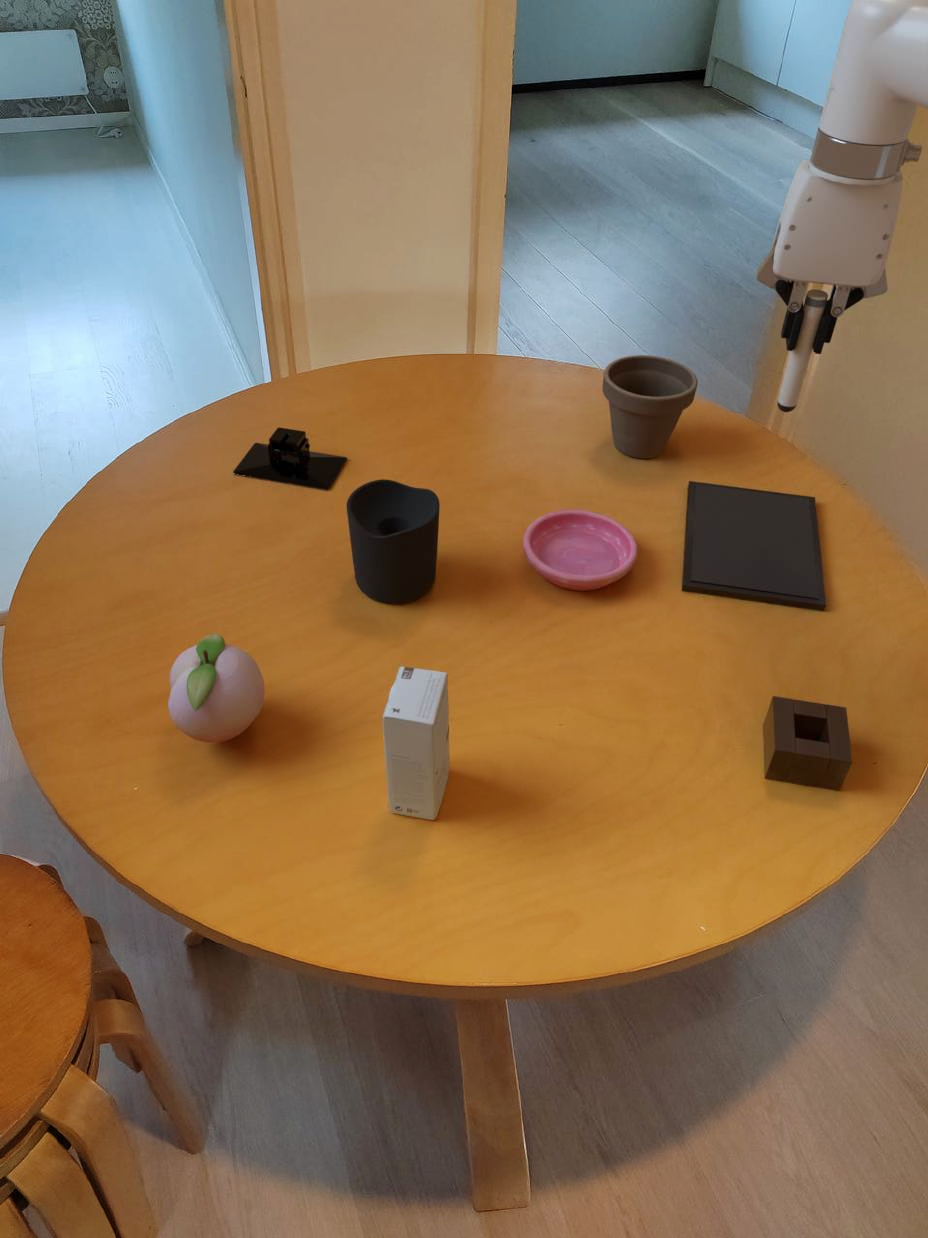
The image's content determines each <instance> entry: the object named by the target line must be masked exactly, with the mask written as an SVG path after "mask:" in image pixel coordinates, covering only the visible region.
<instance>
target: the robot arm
mask: <svg viewBox="0 0 928 1238" xmlns="http://www.w3.org/2000/svg"><path fill="white" fill-rule="evenodd" d="M843 24H844V25H843V26H842V27H843V28H842V32H841V36H840V39H839V43H838V48H837V51H836V55H835V59H834V63H833V67H832V71H831V72H832V73H831V76H830V80H829V84H828V88H827V92H826V96H825V100H824V104H823V107H822V108H823V109H822V112H821V115H820V121H819V124H818V127H817V132H816V136H815V138H814V139H815V140H814V143H813V147H812V150H811V151H812V152H811V156H810V158H806V159H803V160H801V161H800V163H799V165H798V167H797V169H796V171H795V174H794V176H793V179H792V180H791V184H790V186H789V188H788V191H787V195H786V197H785V200H784V203H783V207H782V210H781V213H780V216H779V219H778V223H777V226H776V230H775V233H774V237H773V242H772V245H771V250H770V251H769V252H768V254H767V256H766V257H765V258H764V260H763V261H762V263H761V264H760V265H759V267H758V269H757V270H756V281H758V283H760V284H762V285H764V286H766V287H767V288H769V289H773V290H774V291H776V293H777V295H778V296H779V297H780V299H781V300H782V301H783V303H784V304H785V305H786V312H785V315H784V318H783V323H782V327H781V332H780V338H781V339H785V345H786V351H787V352H791V351H793V350H795V347H796V344H797V340H798V336H799V333H800V329H801V325H802V322H803V318H804V311H803V306H804V297H805V295H806V289H807V286H808V283H810V284H819V285H828V286H829V285H830V286H831V288H830V289H831V290H830V292H829V295H828V299H827V302H826V305H825V308H824V312H823V315H822V318H821V322H820V325H819V329H818V332H817V336H816V339H815V342H814V346H813V350H812V353H814V354H815V355H821V354H822V352H823V349H824V346H825V344H830V343H831V341H832V337H833V334H834V331H835V328H836V325H837V321H838V318H840V317H842V316H843V315H844V312H845V311H847V310H848V309H849V308H851V307H853V306H854V305H856V304H858V303H859V302H861V301H862V300H863V299H870V298H874V297H877V296H882V295H884V294H886V293H887V291H888V289H889V288H888V280H887V279H888V278H887V272H886V264H887V262H888V257H889V253H890V250H891V247H892V241H893V237H894V232H895V229H896V224H897V219H898V215H899V210H900V209H899V208H900V203H901V197H902V190H903V189H902V188H903V177H904V176H903V172H902V170H901V167H903V166H904V165H905V164H908V163H910V162H911V163H918V162H919V160H920V157H921V154H922V149H923V147H922V145H921V144H914V143H913V142H910V140H909V139H908V138H909V135H910V131H911V128H912V126H913V122H914V120H915V116H916V112H917V109H918V106H920V107H922V108H924V109H927V110H928V0H852V1H851V3H850V4H849V7H848V8H847V13H846V16H845V20H844V22H843Z"/></svg>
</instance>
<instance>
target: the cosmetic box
mask: <svg viewBox="0 0 928 1238" xmlns="http://www.w3.org/2000/svg"><path fill="white" fill-rule="evenodd" d="M448 676H449V673H448V672H445V671H439V670H433V669H432V670H431V669H425V668H416V667H409V666H399V668H398V672H397V674H396V676H395V680H394V682H393V684H392V686H391V688H390V691H389V694H388V699H387V702H386V705H385V707H384V711H383V714H382V733H383V734H382V735H383V744H384V757H385V758H384V759H385V773H386V786H387V788H386V789H387V799H388V800H387V801H388V811H389V812H390V813H391V814H397V815H400V816H401V815H402V816H404V817H412V818H417V819H422V820H427V821H434V820H436V818H437V817H438V814H439V811H440V808H441V805H442V802H443V798H444V796H445V791H446V787H447V784H448V779H449V774H450V768H451V766H450V763H451V762H450V705H449V683H448V681H449V678H448Z"/></svg>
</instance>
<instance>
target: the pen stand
mask: <svg viewBox="0 0 928 1238" xmlns="http://www.w3.org/2000/svg"><path fill="white" fill-rule="evenodd" d="M848 719H849V718H848V710H847V707H846V706H841V705H835V704H828V703H827V704H826V703H819V702H813V701H807V700H801V699H794V698H789V697H782V696H776V695H773V696H772V697H771V700H770V704H769V706H768V709H767V711H766V715H765V718H764V721H763V725H762V734H763V735H762V736H763V772H764V779H765V780H772V781H778V782H783V783H789V784H795V785H800V786H801V785H802V786H807V787H814V788H821V789H825V790H831V791H832V790H833V791H838V792H840V791H841V789H842V787H843V784H844V782H845V780H846V778H847V775H848V773H849V771H850V768H851V766H852V765H853V756H852V755H853V754H852V747H851V746H852V745H851V738H850V737H851V736H850V729H849V720H848Z"/></svg>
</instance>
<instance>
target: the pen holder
mask: <svg viewBox="0 0 928 1238" xmlns="http://www.w3.org/2000/svg"><path fill="white" fill-rule="evenodd" d="M440 504H441V503H440V499H439V497H438V495H437V493H435V492H434V491H433V490H432V489H428V488H422V487H414V486H409V485H407V484H404V483H401V482H398V481H397V480H392V479H383V478H381V479H375V480H371V481H369V482H365V483H364V484H362V485H360V486H358V487H357V488H356V489H354V490H353V491H352V492H351V493H350V495H349V496H348V498H347V500H346V514H347V522H348V523H347V524H348V531H349V540H350V548H351V556H352V557H351V558H352V564H353V571H354V576H355V583H356V585H357V587H358V588H359V590H360V591H361V593H363V594H364V595H365V596H367V597H368V598H370V599H372V600H374V601H376V602H379V603H383V604H390V605H397V604H398V605H400V604H406V603H411V602H413V601H416V600H418V599H420V598H422V597H423V596H425V595H426V594H428V592H429V591H430V590H431V589H432V588H433V586H434V584H435V581H436V575H437V564H438V563H437V561H438V546H439V545H438V543H439V527H440V525H439V523H440V506H441V505H440Z"/></svg>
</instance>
